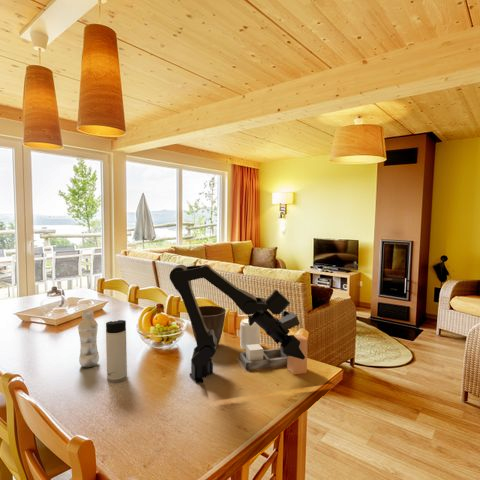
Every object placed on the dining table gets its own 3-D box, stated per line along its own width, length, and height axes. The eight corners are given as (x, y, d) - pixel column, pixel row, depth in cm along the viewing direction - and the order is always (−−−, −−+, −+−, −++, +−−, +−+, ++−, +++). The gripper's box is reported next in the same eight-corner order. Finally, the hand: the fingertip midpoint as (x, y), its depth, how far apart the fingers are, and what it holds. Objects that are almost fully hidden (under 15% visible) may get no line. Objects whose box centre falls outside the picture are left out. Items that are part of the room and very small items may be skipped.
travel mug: (108, 385, 107) (106, 324, 105) (106, 376, 112) (104, 318, 111) (128, 380, 110) (127, 321, 108) (125, 372, 115) (124, 316, 114)
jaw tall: (293, 377, 112) (293, 340, 111) (287, 371, 117) (287, 335, 116) (306, 376, 114) (307, 339, 113) (300, 369, 119) (300, 334, 118)
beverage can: (258, 353, 132) (258, 324, 131) (238, 352, 133) (238, 322, 132) (261, 346, 140) (261, 318, 139) (242, 344, 141) (242, 316, 140)
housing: (244, 374, 114) (244, 364, 114) (236, 361, 125) (236, 351, 124) (294, 368, 119) (294, 358, 119) (282, 355, 130) (282, 346, 129)
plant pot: (182, 352, 132) (182, 313, 131) (200, 339, 146) (200, 304, 145) (215, 358, 127) (215, 318, 126) (231, 344, 141) (231, 307, 139)
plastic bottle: (103, 363, 122) (101, 310, 121) (87, 371, 116) (86, 315, 114) (90, 360, 125) (89, 308, 123) (75, 367, 119) (73, 313, 117)
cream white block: (249, 366, 118) (250, 350, 117) (245, 360, 123) (246, 345, 122) (263, 365, 119) (263, 349, 119) (258, 359, 124) (258, 343, 123)
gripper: (294, 314, 104) (326, 346, 107) (277, 299, 122) (305, 326, 125) (270, 340, 103) (303, 371, 106) (256, 321, 121) (284, 348, 124)
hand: (299, 352), depth 115 cm, fingers open, 9 cm apart
